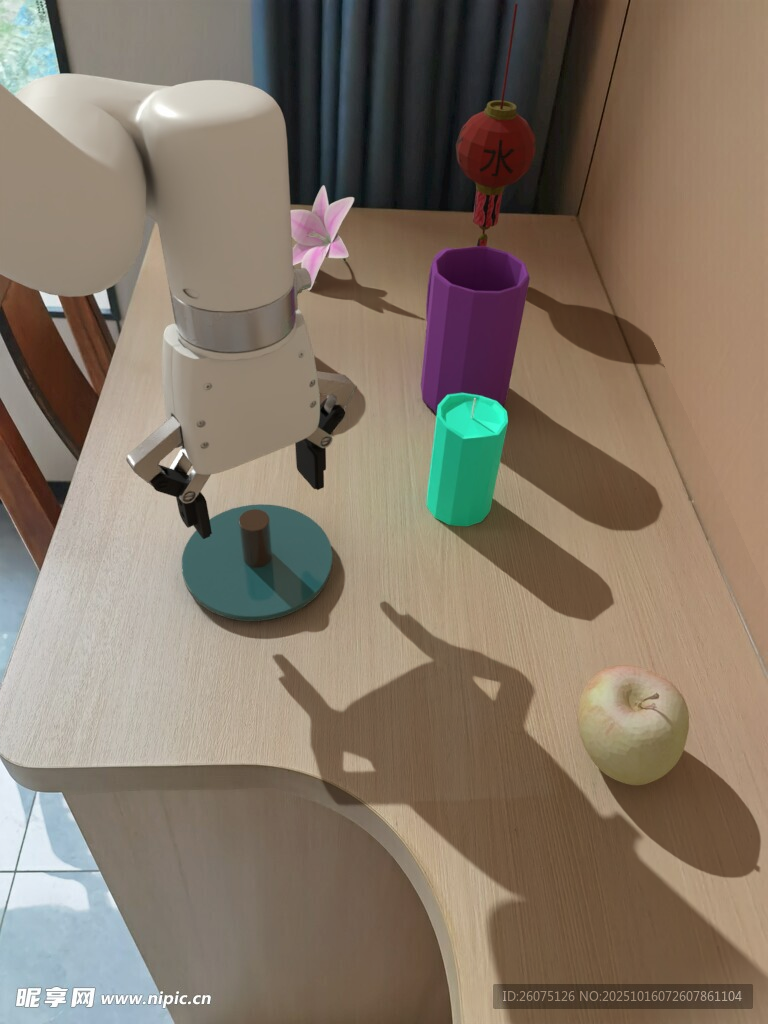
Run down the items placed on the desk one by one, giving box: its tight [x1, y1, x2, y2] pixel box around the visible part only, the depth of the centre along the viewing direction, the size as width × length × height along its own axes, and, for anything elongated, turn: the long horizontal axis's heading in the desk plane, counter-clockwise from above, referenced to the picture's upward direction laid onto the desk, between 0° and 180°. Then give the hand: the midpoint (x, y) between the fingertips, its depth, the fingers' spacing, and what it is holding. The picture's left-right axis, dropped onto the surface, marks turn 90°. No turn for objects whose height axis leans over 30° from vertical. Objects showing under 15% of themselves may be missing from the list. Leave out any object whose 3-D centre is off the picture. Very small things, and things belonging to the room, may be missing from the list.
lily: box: [290, 185, 355, 291], centre depth 100 cm, size 12×12×10 cm
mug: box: [420, 245, 531, 414], centre depth 82 cm, size 9×16×15 cm, turn 18°
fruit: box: [576, 665, 690, 786], centre depth 54 cm, size 8×7×8 cm
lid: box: [180, 503, 333, 622], centre depth 65 cm, size 12×12×6 cm
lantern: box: [455, 2, 537, 247], centre depth 95 cm, size 10×10×30 cm
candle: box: [426, 393, 509, 527], centre depth 69 cm, size 6×6×12 cm
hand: (256, 501), depth 62 cm, fingers open, 9 cm apart
